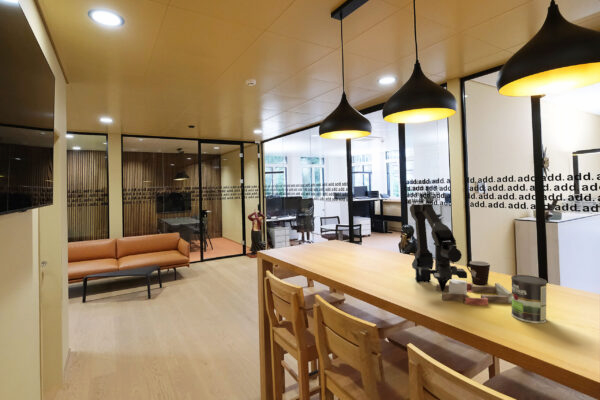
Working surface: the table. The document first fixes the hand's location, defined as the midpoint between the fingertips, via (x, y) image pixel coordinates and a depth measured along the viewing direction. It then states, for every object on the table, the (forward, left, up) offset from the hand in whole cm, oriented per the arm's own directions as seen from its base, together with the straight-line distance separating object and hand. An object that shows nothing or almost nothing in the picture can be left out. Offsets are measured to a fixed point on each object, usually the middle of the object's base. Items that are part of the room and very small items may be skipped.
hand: (442, 291), depth 136 cm
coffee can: (+25, -20, -2) cm, 32 cm away
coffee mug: (+21, +20, -2) cm, 29 cm away
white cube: (+6, 0, -2) cm, 7 cm away
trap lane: (+12, 0, -2) cm, 12 cm away
